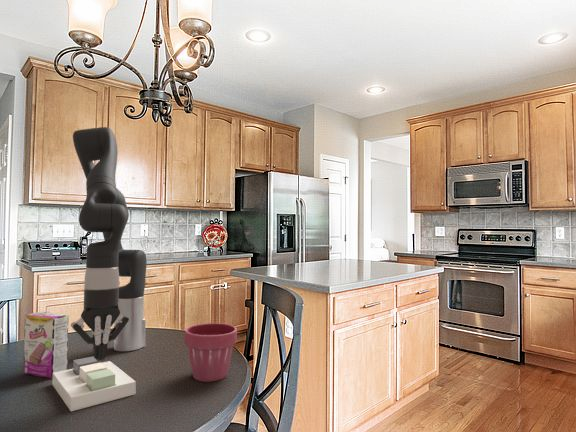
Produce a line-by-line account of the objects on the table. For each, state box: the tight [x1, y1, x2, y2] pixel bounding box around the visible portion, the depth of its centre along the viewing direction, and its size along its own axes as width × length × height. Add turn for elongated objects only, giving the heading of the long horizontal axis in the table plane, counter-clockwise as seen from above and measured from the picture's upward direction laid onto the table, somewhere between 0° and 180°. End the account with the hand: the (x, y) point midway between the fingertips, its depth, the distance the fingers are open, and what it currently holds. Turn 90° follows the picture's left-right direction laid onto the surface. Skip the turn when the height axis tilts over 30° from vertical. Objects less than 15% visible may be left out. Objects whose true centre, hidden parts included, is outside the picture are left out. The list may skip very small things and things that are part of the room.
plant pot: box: [183, 322, 238, 383], centre depth 107 cm, size 14×14×13 cm
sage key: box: [86, 369, 115, 391], centre depth 92 cm, size 5×5×3 cm
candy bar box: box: [22, 311, 69, 380], centre depth 108 cm, size 11×5×16 cm, turn 71°
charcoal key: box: [72, 356, 100, 375], centre depth 102 cm, size 5×5×3 cm
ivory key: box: [79, 362, 107, 383], centre depth 97 cm, size 5×5×3 cm
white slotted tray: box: [51, 360, 137, 412], centre depth 97 cm, size 14×20×3 cm
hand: (99, 359), depth 92 cm, fingers closed
